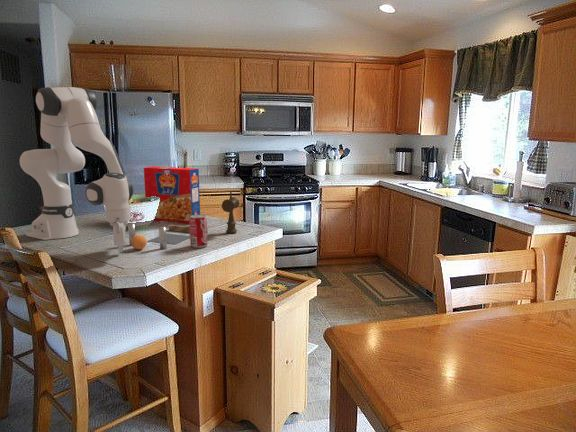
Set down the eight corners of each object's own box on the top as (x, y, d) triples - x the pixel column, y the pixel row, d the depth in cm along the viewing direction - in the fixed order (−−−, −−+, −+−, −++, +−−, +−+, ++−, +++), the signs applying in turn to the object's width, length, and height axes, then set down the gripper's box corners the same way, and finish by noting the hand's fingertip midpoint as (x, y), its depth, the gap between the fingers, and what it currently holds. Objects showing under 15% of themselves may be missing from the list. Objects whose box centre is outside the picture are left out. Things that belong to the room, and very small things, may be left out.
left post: (128, 245, 178) (126, 224, 176) (132, 243, 180) (130, 223, 178) (133, 246, 177) (131, 225, 175) (137, 244, 180) (136, 223, 178)
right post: (158, 249, 173) (157, 227, 171) (162, 247, 176) (161, 226, 174) (164, 249, 172) (163, 228, 170) (167, 248, 175) (166, 226, 173)
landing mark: (147, 241, 185) (147, 240, 184) (166, 233, 198) (166, 233, 197) (175, 244, 180) (175, 243, 180) (192, 236, 193) (192, 236, 193)
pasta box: (146, 220, 227) (143, 167, 221) (156, 217, 234) (153, 166, 228) (192, 224, 217) (189, 169, 211) (200, 221, 224) (198, 168, 219)
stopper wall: (168, 230, 204) (168, 225, 204) (171, 229, 206) (170, 224, 205) (205, 234, 198) (205, 228, 197) (207, 233, 199) (207, 228, 199)
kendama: (222, 234, 197) (221, 192, 193) (228, 230, 206) (227, 189, 202) (234, 235, 196) (233, 192, 192) (240, 230, 205) (240, 189, 201)
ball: (140, 232, 176) (140, 246, 177) (127, 234, 171) (128, 249, 172) (149, 234, 172) (149, 249, 173) (136, 237, 167) (137, 251, 168)
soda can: (203, 249, 173) (202, 218, 171) (187, 248, 175) (186, 217, 172) (210, 244, 180) (209, 214, 178) (194, 243, 182) (193, 213, 179)
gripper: (126, 220, 153) (129, 257, 156) (127, 210, 172) (129, 243, 175) (108, 222, 151) (111, 259, 154) (110, 211, 170) (113, 244, 173)
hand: (121, 250), depth 165 cm, fingers closed
